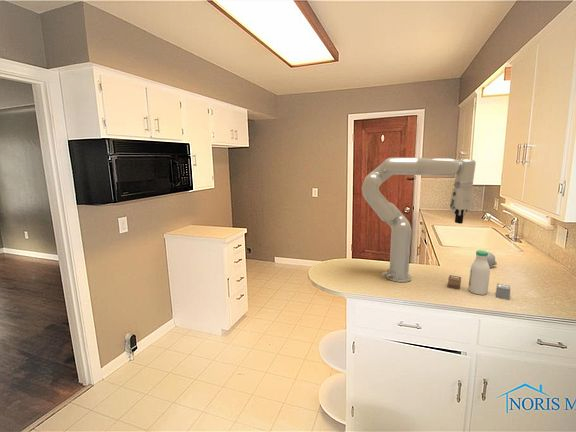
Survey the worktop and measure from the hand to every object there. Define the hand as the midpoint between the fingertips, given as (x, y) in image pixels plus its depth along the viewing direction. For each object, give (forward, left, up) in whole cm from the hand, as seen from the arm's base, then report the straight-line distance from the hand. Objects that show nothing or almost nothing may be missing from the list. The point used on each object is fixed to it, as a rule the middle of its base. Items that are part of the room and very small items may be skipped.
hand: (458, 222), depth 147 cm
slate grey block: (+9, -19, -32) cm, 38 cm away
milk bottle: (+3, -12, -32) cm, 34 cm away
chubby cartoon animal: (+36, +11, -32) cm, 49 cm away
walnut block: (-3, -4, -32) cm, 32 cm away
